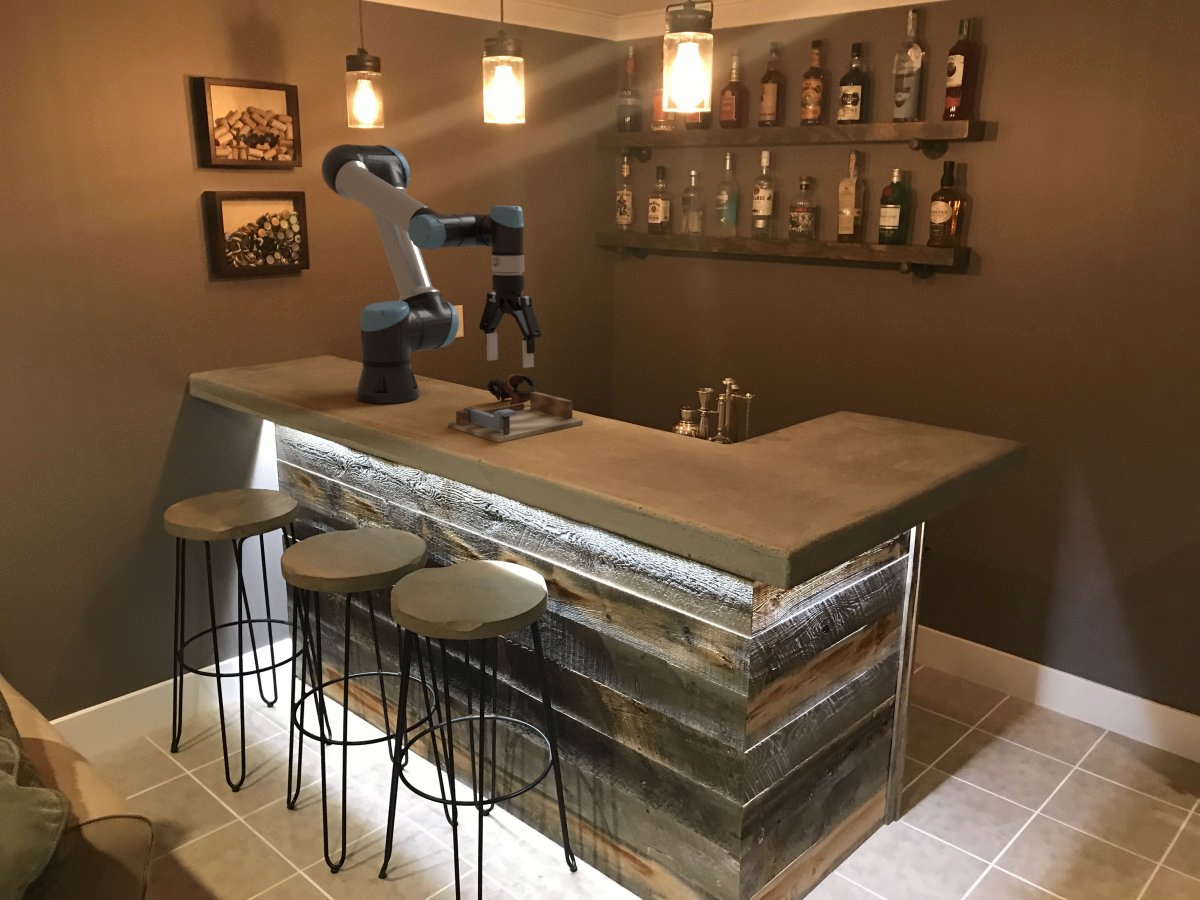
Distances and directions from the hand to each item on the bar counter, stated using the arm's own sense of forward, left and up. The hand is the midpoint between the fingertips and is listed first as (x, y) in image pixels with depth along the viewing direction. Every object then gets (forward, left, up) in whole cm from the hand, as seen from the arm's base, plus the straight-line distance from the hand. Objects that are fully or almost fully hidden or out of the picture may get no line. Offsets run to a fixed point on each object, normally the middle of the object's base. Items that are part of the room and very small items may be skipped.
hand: (510, 363), depth 232 cm
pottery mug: (-2, +2, -11) cm, 11 cm away
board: (+16, -11, -11) cm, 22 cm away
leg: (+17, -19, -9) cm, 27 cm away
